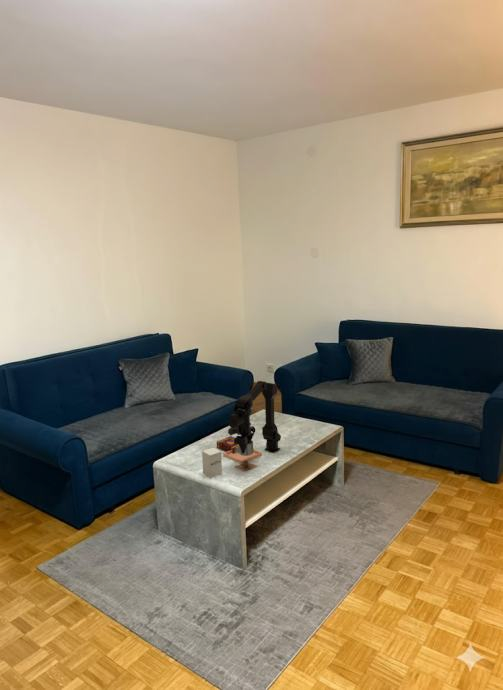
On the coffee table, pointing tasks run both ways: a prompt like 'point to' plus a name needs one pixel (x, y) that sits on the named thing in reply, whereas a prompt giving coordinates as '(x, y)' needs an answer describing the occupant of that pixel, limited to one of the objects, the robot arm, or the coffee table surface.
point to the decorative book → (227, 444)
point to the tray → (240, 458)
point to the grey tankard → (248, 449)
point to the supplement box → (212, 462)
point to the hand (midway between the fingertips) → (245, 450)
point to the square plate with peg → (246, 466)
